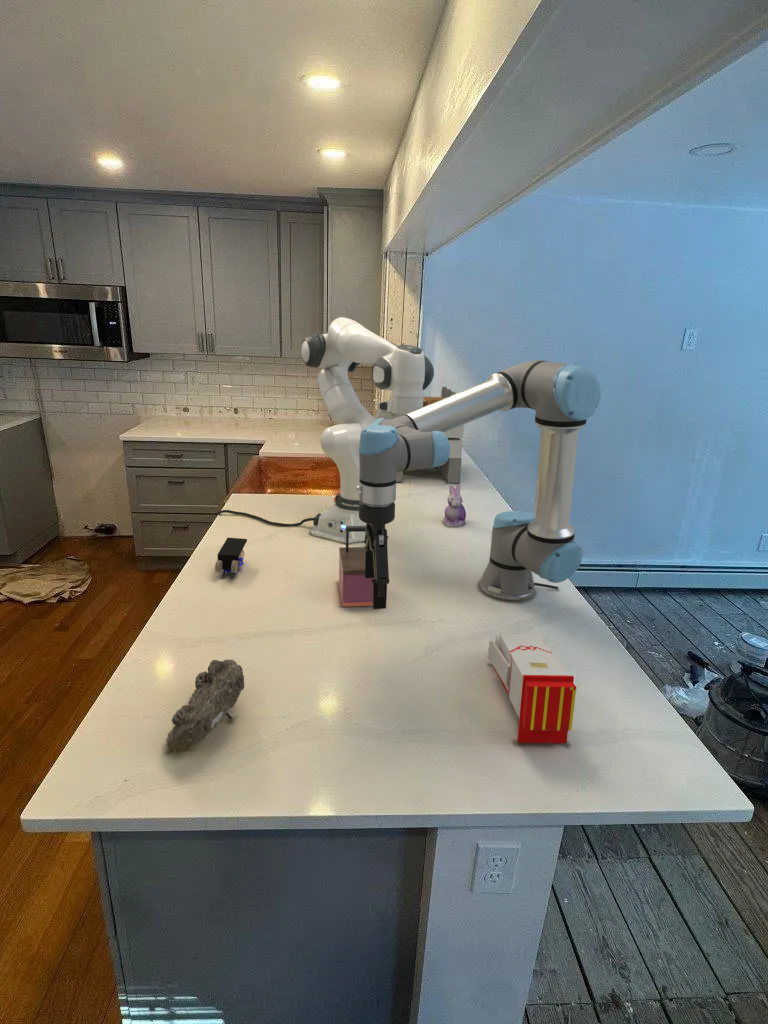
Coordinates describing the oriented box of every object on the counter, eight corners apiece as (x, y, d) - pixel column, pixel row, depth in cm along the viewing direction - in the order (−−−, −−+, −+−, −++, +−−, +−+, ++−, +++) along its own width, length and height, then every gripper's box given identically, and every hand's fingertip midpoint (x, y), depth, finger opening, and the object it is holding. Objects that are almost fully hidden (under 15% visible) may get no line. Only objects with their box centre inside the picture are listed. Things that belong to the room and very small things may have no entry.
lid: (339, 551, 161) (339, 522, 158) (373, 550, 162) (375, 522, 159) (343, 574, 147) (343, 543, 144) (381, 573, 148) (382, 542, 145)
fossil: (192, 660, 117) (244, 628, 112) (224, 691, 120) (276, 661, 115) (142, 746, 98) (202, 712, 93) (182, 779, 101) (242, 748, 96)
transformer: (382, 463, 289) (386, 382, 275) (445, 464, 293) (451, 384, 279) (390, 482, 257) (394, 392, 243) (460, 483, 261) (468, 394, 247)
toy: (536, 617, 130) (585, 683, 100) (531, 671, 132) (578, 750, 103) (483, 616, 129) (518, 682, 100) (479, 670, 132) (511, 749, 103)
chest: (338, 582, 163) (339, 552, 160) (373, 581, 164) (374, 552, 161) (342, 606, 150) (343, 575, 147) (379, 605, 151) (381, 574, 148)
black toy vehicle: (238, 584, 162) (249, 557, 175) (236, 562, 158) (247, 536, 172) (215, 584, 161) (227, 556, 175) (212, 561, 158) (225, 535, 171)
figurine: (451, 529, 206) (455, 489, 201) (436, 519, 214) (439, 481, 209) (472, 525, 210) (476, 487, 205) (457, 516, 219) (460, 479, 214)
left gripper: (444, 410, 153) (440, 460, 158) (387, 400, 166) (385, 447, 171) (429, 412, 149) (426, 463, 154) (372, 402, 162) (371, 450, 166)
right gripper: (352, 482, 128) (352, 566, 135) (366, 525, 105) (365, 623, 112) (385, 481, 129) (383, 565, 137) (406, 523, 106) (402, 621, 114)
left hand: (404, 454), depth 162 cm, fingers open, 8 cm apart
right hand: (375, 592), depth 125 cm, fingers open, 13 cm apart
